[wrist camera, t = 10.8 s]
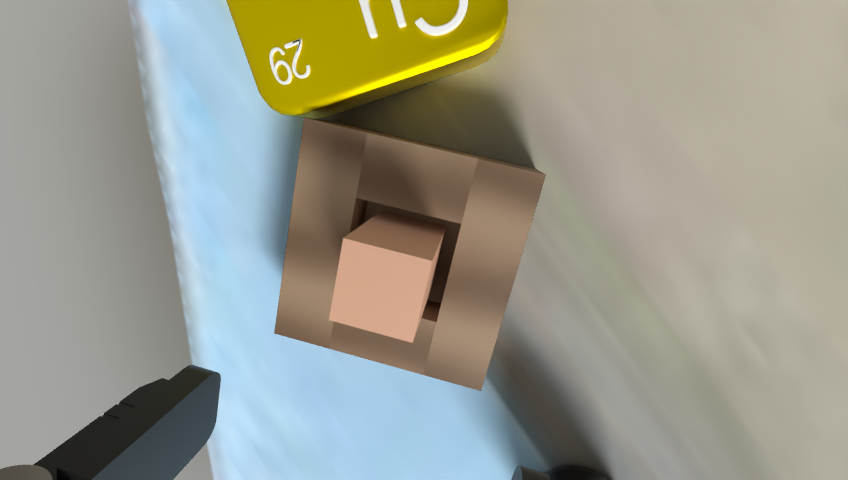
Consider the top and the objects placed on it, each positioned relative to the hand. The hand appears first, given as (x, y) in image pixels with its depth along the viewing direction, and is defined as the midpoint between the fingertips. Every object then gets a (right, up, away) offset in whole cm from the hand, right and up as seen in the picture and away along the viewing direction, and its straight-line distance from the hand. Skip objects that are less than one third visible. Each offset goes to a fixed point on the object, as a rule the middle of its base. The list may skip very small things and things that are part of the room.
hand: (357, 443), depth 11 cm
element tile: (-2, +22, +15) cm, 27 cm away
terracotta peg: (+1, +5, +17) cm, 18 cm away
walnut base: (+1, +5, +19) cm, 19 cm away
